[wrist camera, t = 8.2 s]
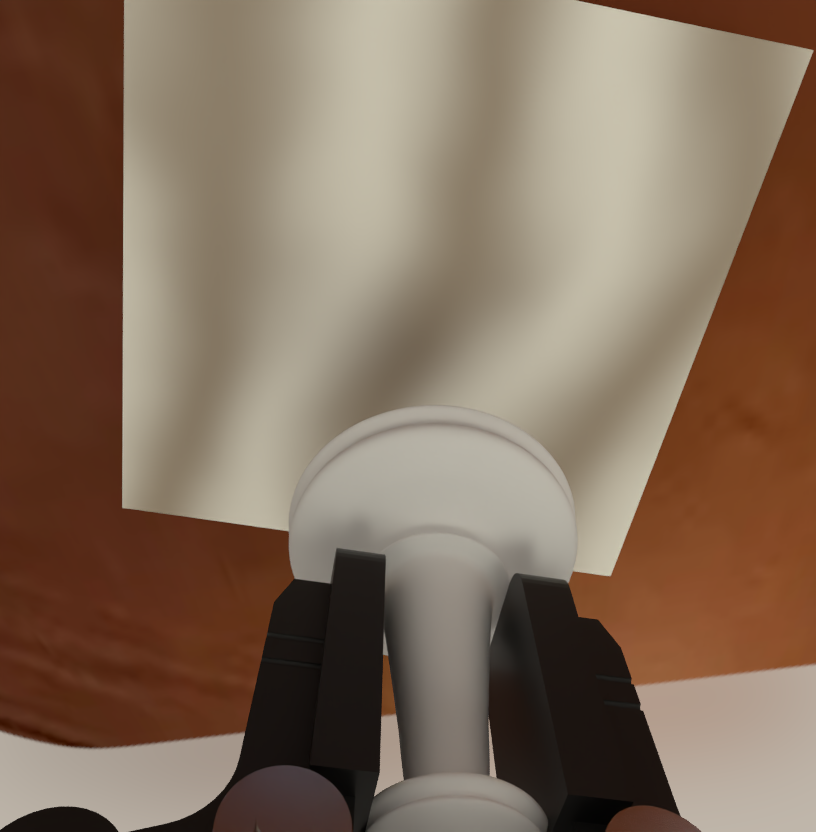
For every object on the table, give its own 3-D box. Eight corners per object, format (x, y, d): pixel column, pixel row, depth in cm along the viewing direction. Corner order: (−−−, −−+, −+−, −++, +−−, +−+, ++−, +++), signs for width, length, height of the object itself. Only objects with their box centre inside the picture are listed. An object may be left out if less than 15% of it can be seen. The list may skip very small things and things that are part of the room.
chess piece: (554, 374, 12) (1056, 1526, 3) (590, 610, 14) (928, 1667, 5) (250, 437, 12) (-175, 1591, 3) (332, 656, 14) (217, 1692, 5)
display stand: (162, 438, 31) (122, 507, 26) (178, -70, 23) (124, -95, 18) (582, 501, 32) (610, 576, 28) (737, 46, 24) (813, 50, 20)
